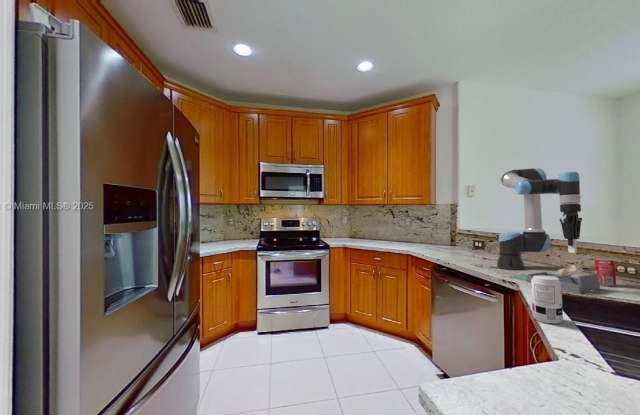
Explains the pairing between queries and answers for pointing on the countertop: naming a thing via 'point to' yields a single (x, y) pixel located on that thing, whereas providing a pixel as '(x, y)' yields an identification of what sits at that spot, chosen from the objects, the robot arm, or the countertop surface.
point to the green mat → (520, 277)
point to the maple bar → (569, 269)
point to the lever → (568, 274)
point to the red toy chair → (605, 271)
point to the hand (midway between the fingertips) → (572, 252)
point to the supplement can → (547, 299)
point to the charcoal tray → (574, 282)
